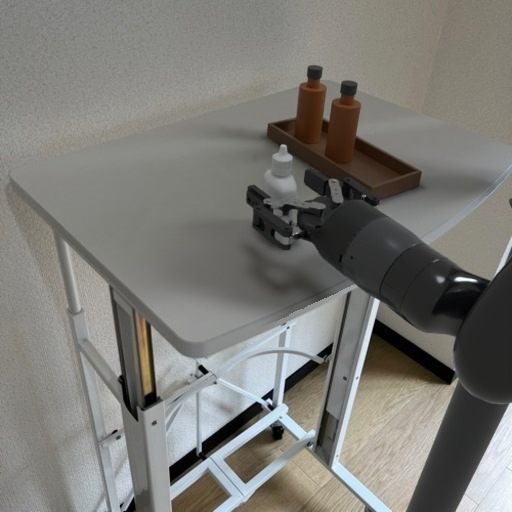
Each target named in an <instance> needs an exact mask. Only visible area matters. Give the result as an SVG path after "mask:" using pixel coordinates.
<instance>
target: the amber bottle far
mask: <svg viewBox="0 0 512 512" xmlns="http://www.w3.org/2000/svg"><path fill="white" fill-rule="evenodd" d="M323 70H324V68H323V67H322V66H321V65H318V64H311V65H308V66H307V69H306V78H307V79H306V80H307V81H304V82H301V83H300V84H299V86H298V96H297V104H296V105H297V106H296V115H295V117H296V124H295V134H294V138H296V139H298V140H299V141H301V142H303V143H304V144H315V143H318V142H319V141H320V137H321V129H322V121H323V118H324V114H325V113H324V112H325V104H326V97H327V89H328V88H327V86H326V84H323V83H321V79H322V77H323Z"/></svg>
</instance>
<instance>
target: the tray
mask: <svg viewBox="0 0 512 512" xmlns="http://www.w3.org/2000/svg"><path fill="white" fill-rule="evenodd" d="M295 124H296V116H295V117H291V118H286V119H281V120H278V121H273V122H268V123H267V128H266V129H267V131H266V138H267V139H269V140H270V141H272V142H273V143H275V144H276V145H278V146H279V147H280V146H281V145H286V146H287V152H289V153H291V154H293V155H294V156H295V157H297V158H299V160H301V161H303V162H304V163H306V164H308V165H309V166H310V167H311V168H313V169H316V171H318V172H320V173H321V174H323V175H324V176H326V177H328V178H329V179H337V180H338V181H339V182H341V181H343V180H344V178H346V177H349V178H352V179H354V180H355V181H357V182H358V183H359V184H361V185H362V186H364V187H365V188H367V189H368V190H370V191H371V192H373V193H374V194H376V195H377V196H378V197H380V200H383V199H386V198H389V197H391V196H395V195H397V194H400V193H403V192H406V191H408V190H412V189H415V188H418V187H419V186H420V183H421V182H420V181H421V178H422V175H423V171H422V170H421V169H419V168H417V167H415V166H413V165H412V164H409V163H408V162H406V161H404V160H402V159H401V158H398V157H397V156H395V155H393V154H391V153H390V152H387V151H386V150H383V149H382V148H380V147H378V146H376V145H375V144H372V143H371V142H369V141H367V140H365V139H364V138H361V137H360V136H359V135H356V138H355V144H354V150H353V156H352V160H351V161H350V162H348V163H335V162H334V161H332V160H330V159H329V158H327V157H326V156H325V148H326V141H327V134H328V127H329V119H326V118H325V117H323V121H322V129H321V137H320V141H319V142H318V143H315V144H304V143H303V142H301V141H299V140H298V139H296V138H294V134H295ZM352 194H354V191H353V190H352Z"/></svg>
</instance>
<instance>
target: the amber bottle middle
mask: <svg viewBox="0 0 512 512" xmlns="http://www.w3.org/2000/svg"><path fill="white" fill-rule="evenodd" d="M358 86H359V85H358V82H356V81H355V80H349V79H347V80H342V81H341V83H340V89H339V93H340V97H337V98H334V99H332V100H331V106H330V112H329V113H330V114H329V119H328V121H329V127H328V134H327V141H326V148H325V156H326V157H327V158H329V159H330V160H332V161H334V162H335V163H348V162H350V161H351V160H352V156H353V150H354V144H355V138H356V136H357V134H358V133H357V132H358V126H359V121H360V114H361V108H362V103H361V102H360V101H359V100H357V99H355V96H356V95H357V91H358Z"/></svg>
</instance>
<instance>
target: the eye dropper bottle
mask: <svg viewBox="0 0 512 512" xmlns="http://www.w3.org/2000/svg"><path fill="white" fill-rule="evenodd" d="M293 157H294V156H293V155H291V154H290V153H288V150H287V146H286V145H281V146H280V145H279V150H278V152H276V153H273V154H272V156H271V167H270V169H268V170H266V171H265V172H264V175H263V185H262V191H264V192H265V193H266V194H268V195H269V196H270V197H271V199H275V200H280V201H286V200H287V199H294V200H297V195H298V185H297V182H296V179H295V177H294V176H293V174H292V172H293V163H294V162H293V161H294V158H293ZM273 214H275V215H278V216H282V211H281V210H278V209H274V213H273ZM295 216H296V210H294V209H292V210H291V220H292V222H295Z"/></svg>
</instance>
